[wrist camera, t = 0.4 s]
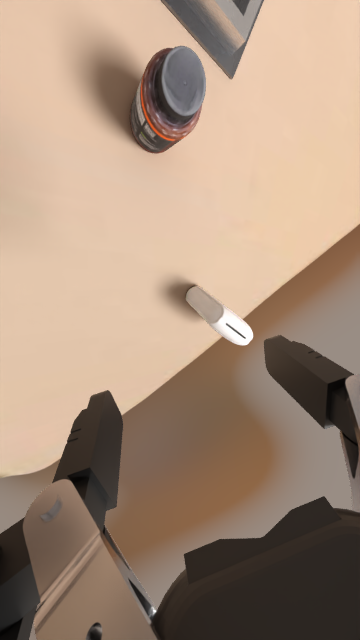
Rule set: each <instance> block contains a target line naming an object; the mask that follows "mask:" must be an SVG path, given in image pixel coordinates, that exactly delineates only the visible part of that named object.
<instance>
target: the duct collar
mask: <svg viewBox="0 0 360 640" xmlns="http://www.w3.org/2000/svg"><path fill="white" fill-rule="evenodd" d="M161 1H162V2H163V3H164V4H165V6H166V7H167V8H168V9H169V10H170V11H171V12H172V13H173V15H174V16H175V17H176V18H177V19H178V20H179V21H180V23H181V24H182V25H183V26H184V27H185V28H186V29H187V30H188V32H189V33H190V34H191V35H192V36H193V37H194V38H195V39H196V41H197V42H198V43H199V44H200V45H201V46H202V47H203V48H204V50H205V51H206V52H207V53H208V54H209V55H210V56H211V57H212V59H213V60H214V61H215V62H216V63H217V64H218V65H219V66H220V68H221V69H222V70H223V71H224V72H225V73H226V74H227V76H228V77H229V78H230V79H232V78H233V76H234V74H235V71H236V69H237V66H238V64H239V61H240V59H241V56H242V54H243V51H244V49H245V46H246V44H247V41H248V39H249V36H250V34H251V31H252V29H253V26H254V24H255V21H256V19H257V16H258V14H259V11H260V8H261V6H262V3H263V1H264V0H161Z"/></svg>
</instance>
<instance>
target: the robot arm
mask: <svg viewBox="0 0 360 640" xmlns="http://www.w3.org/2000/svg"><path fill="white" fill-rule="evenodd" d="M264 351H265V363H266V368H267V370H268V372H269V374H270V375H271V376H272V377H273V378H274V379H275V380H276V381H277V382H278V383H279V384H280V385H281V386H282V387H283V388H284V389H285V390H286V391H287V392H288V393H289V394H290V395H291V396H292V397H293V398H294V399H295V400H296V401H297V402H298V403H299V404H300V405H301V406H302V407H303V408H304V409H305V410H306V411H307V412H308V413H309V414H310V415H311V416H312V417H313V418H314V419H315V420H316V421H317V422H318V423H319V424H320V425H321V426H322V427H323V428H324V429H327V428H329V427H332V426H336V427H337V428H338V429H340V439H341V443H342V448H343V453H344V457H345V462H346V466H347V471H348V476H349V480H350V486H351V499H352V510H353V511H352V510H347V509H339V508H333V507H332V506H331V505H330V503H329V502H328V501H327V499H326V498H325V497H321V498H319V499H316V500H314V501H312V502H309V503H307V504H304V505H302V506H299V507H297V508H295V509H292V510H291V511H290V512H289V513H288V514H287V515H286V516H285V517H284V518H282V520H281V521H279V522H278V523H277V524H276V525H275V526H274V528H272V529H271V530H270V531H269V532H268V533H267V534H266V535H265V536H264V537H261V538H248V539H219V540H217V541H215V542H212V543H210V544H207V545H205V546H202V547H200V548H198V549H195V550H193V551H190V552H188V553H186V554H184V558H185V565H186V569H185V570H184V571H183V572H182V573H181V574H180V575H179V576H178V577H177V579H176V580H175V581H174V582H173V583H172V585H171V587H170V588H169V590H168V591H167V593H166V594H165V596H164V598H163V600H162V602H161V604H160V606H159V608H158V610H157V608H156V607H155V605H154V603H153V602H152V600H151V598H150V597H149V596H148V594H147V593H146V591H145V589H144V588H143V586H142V585H141V583H140V582H139V580H138V579H137V578H136V576H135V574H134V573H133V571H132V569H131V568H130V566H129V564H128V563H127V561H126V560H125V558H124V556H123V555H122V553H121V551H120V550H119V548H118V546H117V545H116V543H115V541H114V540H113V538H112V536H111V535H110V533H109V531H108V530H107V528H106V527H105V525H104V521H105V513H106V511H107V510H110V509H112V508H115V507H116V506H117V494H118V481H119V468H120V455H121V444H122V431H123V421H122V416H121V413H120V411H119V409H118V407H117V405H116V403H115V401H114V399H113V397H112V394H111V393H110V391H109V390H107V391H104V392H101V393H98V394H95V395H92V396H91V398H90V401H89V404H88V407H87V409H84V410H82V411H81V413H80V414H79V415H78V417H77V418H76V419H75V421H74V423H73V426H72V429H71V434H70V435H69V437H68V440H67V444H66V446H65V449H64V451H63V454H62V457H61V460H60V463H59V466H58V468H57V471H56V474H55V477H54V480H53V482H52V484H51V485H49V486H48V487H47V488H45V489H44V490H43V491H42V492H41V493H40V494H39V495H38V496H37V497H36V499H35V500H34V501H33V503H32V504H31V506H30V507H29V509H28V511H27V513H26V516H25V517H24V518H23V519H22V520H20V521H19V522H17V523H16V524H14V525H13V526H11V527H10V528H9V529H7V530H5V531H4V532H2V533H1V534H0V640H29V637H30V632H31V628H32V624H33V620H34V627H35V634H36V639H37V640H360V374H357V375H354V374H352V373H351V372H349V371H347V370H346V369H344V368H343V367H341V366H339V365H338V364H336V363H334V362H333V361H331V360H329V359H327V358H326V357H323V356H322V355H321V354H319V353H318V352H315V351H314V350H313V349H311V348H310V347H308V346H306V345H305V344H301V343H298V342H295V341H292V342H291V341H289V340H288V339H286V338H284V337H283V336H281V335H278V336H275V337H272V338H269V339H266V340H265V341H264ZM40 602H41V605H40V607H39V608H38V609H37V611H36V608H37V605H38V604H39V603H40Z"/></svg>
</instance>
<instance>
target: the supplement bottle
mask: <svg viewBox="0 0 360 640" xmlns="http://www.w3.org/2000/svg"><path fill="white" fill-rule="evenodd" d="M205 91H206V78H205V72H204V68H203V66H202V63H201V61H200V59H199V58H198V56H197V55H196V53H195V52H194V51H192V50H191V49H190V48H188V47H185V46H178V47H175V48H166V49H163V50H160V51H159V52H158V53H156V54H155V55H154V56H153V57H152V58H151V60H150V61H149V63H148V65H147V67H146V69H145V72H144V74H143V77H142V79H141V82H140V84H139V87H138V89H137V92H136V95H135V97H134V100H133V102H132V106H131V110H130V123H131V128H132V132H133V134H134V137H135V138H136V140H137V142H138V143H139V144H140V145H141V147H143V148H144V149H145V150H147V151H148V152H151V153H161V152H164V151H166V150H168V149H169V148H170V147H172V146H173V145H174V144H176V143H177V142H179V141H180V140H181V139H183V138H184V137H185V136H187V135H188V134H189V133H190V132H191V131H192V130H193V128H194V127H195V126H196V124H197V122H198V119H199V117H200V113H201V108H202V103H203V100H204V96H205Z"/></svg>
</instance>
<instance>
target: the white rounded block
mask: <svg viewBox="0 0 360 640" xmlns="http://www.w3.org/2000/svg"><path fill="white" fill-rule="evenodd" d="M186 301H187V302H188V303H189V304H190V305H191V306H192V307H193V308H194V310H195V311H196V312H197V313H198V314H199V315H200V316H201V317H202V318H203V319H204V320H205V321H206V322H207V323H208V324H209V325H210V326H211V327H212V328H213V329H214V330H215V331H216V332H218V333H219V334H220V335H222V336H223V337H224V338H226V339H228V340H229V341H231V342H233V343H235V344H238V345H247V344H248V343H249V341H250V340H252V338H253V333H252V330H251V328H250V327H249V325H248V324H247V323H245V322H244V321H243V320H242V319H241V318H240V317H239V316H238V315H236V314H235V313H234V312H233V311H231V310H230V309H229V308H228V307H226V306H225V305H224V304H223V303H221V302H220V301H219V300H218V299H216V298H215V297H214V296H212V295H211V294H210V293H208V292H207V291H206V290H204V289H203V288H201V287H199V286H197V285H196V286H195V287H192V288H190V289H189V291H188V292H187V294H186Z"/></svg>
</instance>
